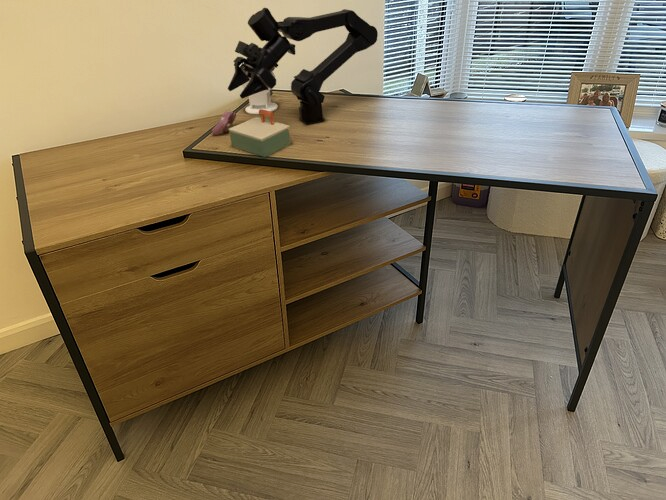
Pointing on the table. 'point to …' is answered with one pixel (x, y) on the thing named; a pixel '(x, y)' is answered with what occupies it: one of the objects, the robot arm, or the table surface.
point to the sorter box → (261, 143)
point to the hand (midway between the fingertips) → (234, 93)
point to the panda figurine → (261, 100)
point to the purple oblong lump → (224, 123)
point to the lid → (260, 127)
